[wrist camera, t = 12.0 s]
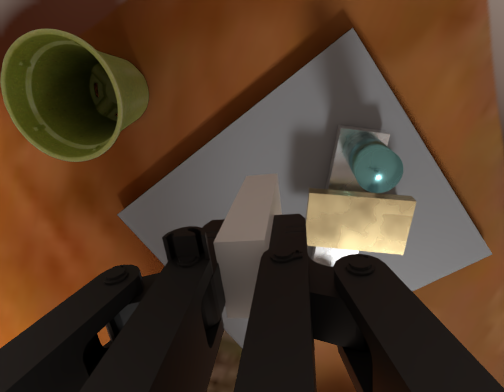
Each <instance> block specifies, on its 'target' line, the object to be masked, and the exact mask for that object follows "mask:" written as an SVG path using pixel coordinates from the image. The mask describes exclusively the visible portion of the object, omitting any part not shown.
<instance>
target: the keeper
mask: <svg viewBox="0 0 504 392" xmlns="http://www.w3.org/2000/svg"><path fill="white" fill-rule="evenodd" d="M416 202H417V201H416V200H415V199H414V198H413V197H412V196H406V195H393V194H380V193H367V192H354V191H342V190H329V189H316V188H309V192H308V201H307V211H306V232H307V245H308V246H316V247H326V248H337V249H347V250H357V251H368V252H378V253H388V254H399V255H403V254H404V250H405V246H406V242H407V238H408V234H409V230H410V226H411V222H412V218H413V214H414V210H415V206H416Z"/></svg>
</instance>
